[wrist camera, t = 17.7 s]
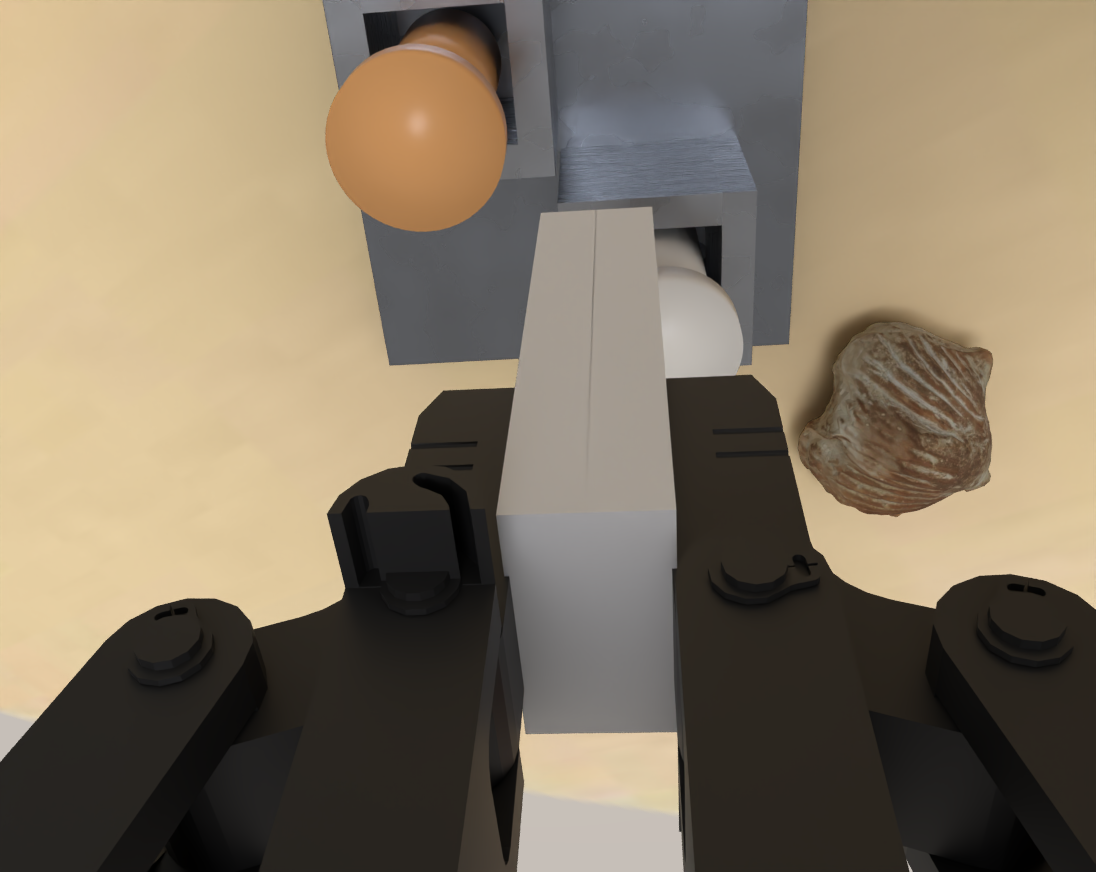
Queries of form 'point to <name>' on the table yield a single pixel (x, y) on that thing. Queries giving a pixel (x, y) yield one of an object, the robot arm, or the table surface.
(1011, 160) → the table surface
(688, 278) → the plug
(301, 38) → the table surface
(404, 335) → the gray socket stand
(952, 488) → the seashell
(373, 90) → the plug terracotta
